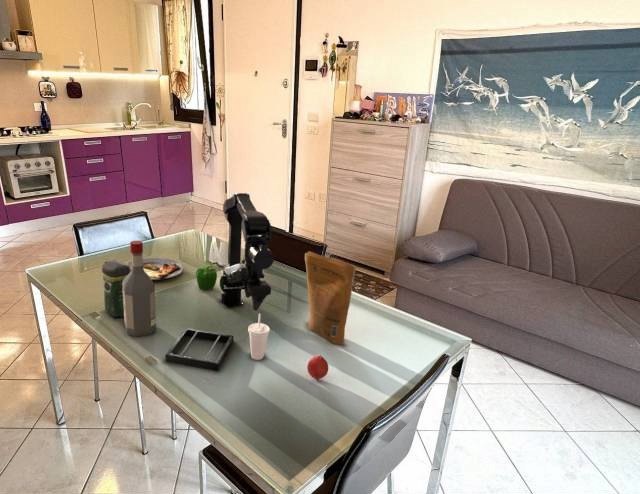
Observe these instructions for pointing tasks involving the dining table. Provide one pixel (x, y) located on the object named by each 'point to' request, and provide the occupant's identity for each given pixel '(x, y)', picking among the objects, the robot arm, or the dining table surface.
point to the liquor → (138, 296)
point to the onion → (317, 367)
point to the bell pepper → (206, 277)
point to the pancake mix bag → (328, 295)
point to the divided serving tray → (198, 362)
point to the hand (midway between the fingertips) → (251, 303)
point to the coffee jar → (114, 286)
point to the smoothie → (258, 339)
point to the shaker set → (218, 254)
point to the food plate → (160, 268)
